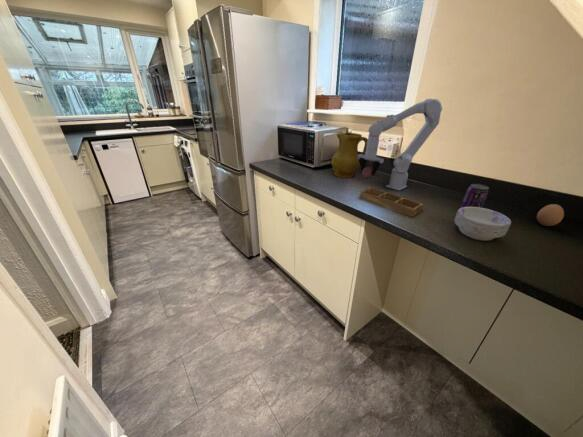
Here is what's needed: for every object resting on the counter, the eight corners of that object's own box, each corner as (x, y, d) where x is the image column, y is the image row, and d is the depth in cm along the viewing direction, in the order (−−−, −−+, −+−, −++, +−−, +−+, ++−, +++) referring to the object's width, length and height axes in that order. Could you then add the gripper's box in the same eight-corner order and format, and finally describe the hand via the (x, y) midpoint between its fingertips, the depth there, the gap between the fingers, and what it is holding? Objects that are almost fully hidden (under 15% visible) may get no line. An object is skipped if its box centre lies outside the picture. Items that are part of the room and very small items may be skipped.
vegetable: (374, 178, 129) (378, 160, 125) (369, 181, 125) (372, 162, 121) (364, 176, 133) (367, 158, 128) (359, 178, 129) (361, 160, 125)
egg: (529, 223, 93) (541, 203, 89) (536, 219, 96) (548, 199, 92) (552, 231, 88) (566, 209, 83) (559, 226, 91) (572, 206, 86)
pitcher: (337, 168, 157) (342, 129, 144) (363, 175, 148) (372, 134, 135) (324, 175, 145) (329, 133, 132) (352, 183, 136) (361, 139, 123)
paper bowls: (443, 222, 93) (450, 204, 89) (484, 224, 91) (492, 206, 88) (464, 244, 79) (473, 224, 76) (512, 247, 78) (524, 226, 74)
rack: (369, 193, 119) (370, 187, 117) (421, 210, 102) (423, 203, 100) (359, 198, 113) (360, 191, 112) (412, 217, 97) (414, 209, 95)
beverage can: (472, 217, 97) (484, 190, 91) (455, 210, 102) (465, 185, 97) (482, 214, 100) (494, 187, 94) (465, 207, 105) (475, 182, 100)
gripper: (355, 147, 124) (352, 171, 130) (380, 151, 114) (375, 178, 121) (363, 145, 128) (359, 169, 134) (387, 149, 118) (382, 175, 125)
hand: (367, 173), depth 128 cm, fingers closed on vegetable, 6 cm apart
